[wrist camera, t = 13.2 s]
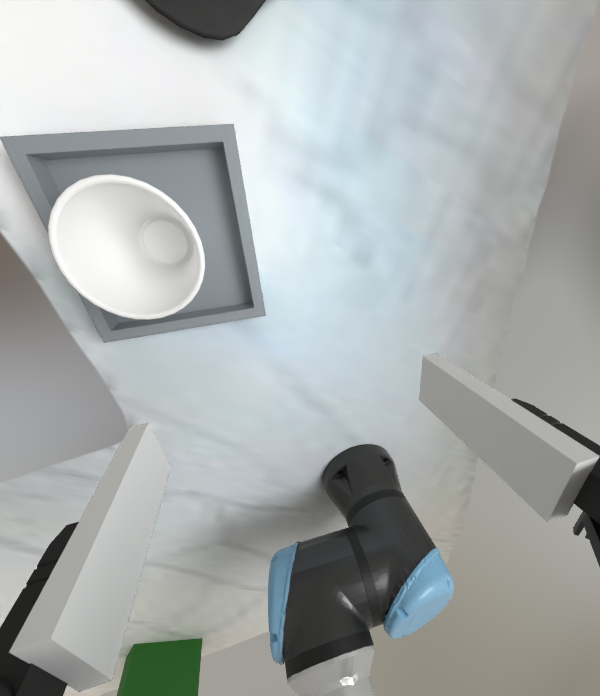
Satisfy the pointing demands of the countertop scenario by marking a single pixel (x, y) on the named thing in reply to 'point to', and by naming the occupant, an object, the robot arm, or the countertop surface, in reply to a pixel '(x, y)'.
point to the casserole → (209, 15)
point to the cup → (126, 247)
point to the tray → (177, 183)
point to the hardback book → (162, 669)
